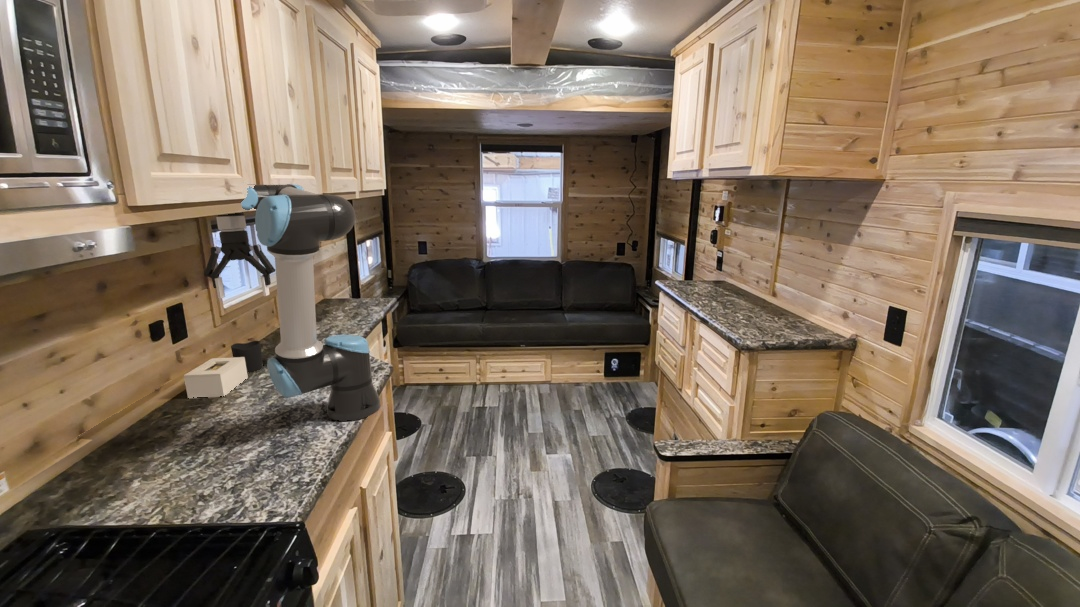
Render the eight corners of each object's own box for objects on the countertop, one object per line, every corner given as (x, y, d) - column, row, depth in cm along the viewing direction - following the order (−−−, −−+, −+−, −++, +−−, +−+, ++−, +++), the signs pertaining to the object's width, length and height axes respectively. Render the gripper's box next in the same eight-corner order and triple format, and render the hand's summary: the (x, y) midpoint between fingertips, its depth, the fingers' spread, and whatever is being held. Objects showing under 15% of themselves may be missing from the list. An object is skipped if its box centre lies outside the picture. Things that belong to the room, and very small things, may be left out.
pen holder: (251, 374, 173) (247, 348, 171) (229, 373, 175) (224, 347, 172) (269, 365, 182) (266, 340, 180) (248, 364, 184) (244, 340, 181)
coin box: (224, 396, 155) (219, 373, 153) (188, 398, 153) (183, 375, 152) (248, 377, 170) (244, 356, 168) (215, 379, 169) (211, 358, 167)
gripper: (279, 227, 153) (289, 292, 158) (196, 231, 150) (209, 296, 155) (270, 229, 146) (280, 296, 150) (182, 232, 143) (196, 301, 147)
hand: (244, 296), depth 153 cm, fingers open, 13 cm apart
